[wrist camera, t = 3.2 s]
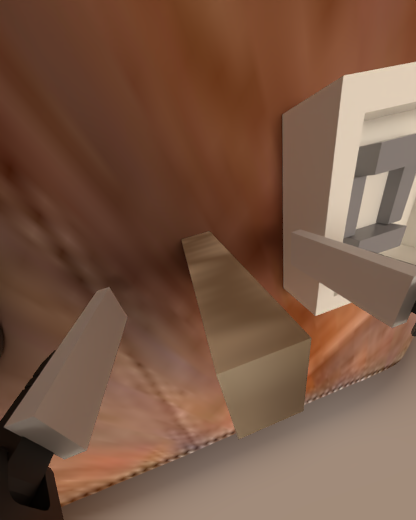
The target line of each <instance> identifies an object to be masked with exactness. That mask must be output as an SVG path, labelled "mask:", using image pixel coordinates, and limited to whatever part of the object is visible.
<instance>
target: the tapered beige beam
mask: <svg viewBox="0 0 416 520" xmlns="http://www.w3.org/2000/svg"><path fill="white" fill-rule="evenodd" d="M181 241H182V245H183V248H184V252H185V256H186V260H187V264H188V267H189V271H190V275H191V279H192V283H193V287H194V290H195V294H196V298H197V302H198V306H199V310H200V313H201V317H202V321H203V325H204V329H205V333H206V336H207V340H208V344H209V348H210V352H211V356H212V359H213V363H214V367H215V371H216V375H217V378H218V381H219V384H220V386H221V389H222V392H223V395H224V398H225V401H226V404H227V407H228V410H229V413H230V416H231V419H232V422H233V424H234V427H235V430H236V433H237V436H238V439H241V438H243V437H245V436H247V435H250V434H252V433H254V432H256V431H259V430H261V429H263V428H265V427H268V426H270V425H272V424H275V423H277V422H279V421H281V420H284V419H286V418H288V417H291V416H293V415H295V414H297V413H300V412H302V411H303V410H304V401H305V391H306V382H307V373H308V364H309V355H310V346H311V337H310V336H309V335H308V334H307V333H306V332H305V331H304V330H303V329H302V328H301V327H300V326H299V325H298V323H297V322H296V321H295V320H294V319H293V318H292V317H291V316H290V315H289V314H288V313H287V312H286V311H285V310H284V309H283V308H282V307H281V306H280V305H279V304H278V303H277V301H276V300H275V299H274V298H273V297H272V296H271V295H270V294H269V293H268V292H267V291H266V290H265V289H264V288H263V287H262V286H261V285H260V284H259V283H258V282H257V280H256V279H255V278H254V277H253V276H252V275H251V274H250V273H249V272H248V271H247V270H246V269H245V268H244V267H243V266H242V265H241V264H240V263H239V262H238V261H237V260H236V258H235V257H234V256H233V255H232V254H231V253H230V252H229V251H228V250H227V249H226V248H225V247H224V246H223V245H222V244H221V243H220V242H219V241H218V240H217V239H216V238H215V236H214V235H213V234H212V233H211V232H210V231H208V232H205V233H201V234H198V235H194V236H191V237H187V238H184V239H181Z"/></svg>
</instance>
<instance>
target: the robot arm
mask: <svg viewBox="0 0 416 520" xmlns="http://www.w3.org/2000/svg"><path fill="white" fill-rule="evenodd" d="M291 265H292V266H294V267H296V268H297V269H299V270H300V271H302V272H304V273H305V274H307V275H308V276H310V277H312V278H313V279H315V280H316V281H318V282H320V283H321V284H323V285H324V286H326V287H328V288H329V289H331V290H332V291H334V292H336V293H337V294H339V295H340V296H342V297H344V298H345V299H347V300H348V301H350V302H352V303H353V304H355V305H356V306H358V307H359V308H361V309H363V310H364V311H366V312H367V313H369V314H371V315H372V316H374V317H375V318H377V319H379V320H380V321H382V322H383V323H385V324H387V325H388V326H390V327H391V328H393V327H395V326H398V325H400V324H403V323H405V322H406V321H407V319H408V317H409V315H410V313H411V312H413V313H415V314H416V265H413V264H410V263H407V262H404V261H401V260H397V259H394V258H391V257H388V256H384V255H382V254H378V253H375V252H372V251H367V250H364V249H361V248H358V247H355V246H352V245H348V244H345V243H342V242H339V241H336V240H333V239H329V238H326V237H323V236H320V235H317V234H314V233H310V232H307V231H304V230H301V229H300V230H297V231H294V232H291ZM127 318H128V317H127V315H126V313H125V312H124V310H123V309H122V307H121V305H120V304H119V302H118V300H117V299H116V297H115V295H114V294H113V292H112V290H111V289H110V287H107V288H104V289H101V290H97V292H96V293H95V294H94V296H93V297H92V299H91V300H90V302H89V303H88V305H87V306H86V308H85V309H84V311H83V312H82V313H81V315H80V316H79V318H78V319H77V321H76V322H75V324H74V325H73V327H72V328H71V329H70V331H69V332H68V334H67V335H66V337H65V338H64V340H63V341H62V343H61V344H60V346H59V347H58V348H57V350H55V351H54V352H53V353H52V354H51V355H50V356H49V357H48V358H47V359H46V360H45V361H44V362H43V363H42V364H41V365H40V367H39V368H38V369H37V371H36V372H35V374H34V375H33V378H31V379H30V380H29V382H28V383H27V385H26V386H25V389H24V390H22V392H21V393H20V394H19V396H18V397H17V399H16V400H15V401H14V403H13V404H12V406H11V407H10V408H9V410H8V411H7V413H6V414H5V415H4V417H3V418H2V420H1V421H0V520H64V519H63V515H62V510H61V505H60V501H59V496H58V492H57V487H56V482H55V478H54V473H53V471H52V470H51V468H49V467H48V465H49V463H50V461H51V458H52V456H53V454H55V455H57V456H59V457H61V458H63V459H67V458H69V457H72V456H74V455H77V454H79V453H82V452H84V451H87V448H88V445H89V442H90V438H91V435H92V432H93V429H94V425H95V422H96V419H97V416H98V412H99V409H100V406H101V403H102V399H103V396H104V393H105V390H106V386H107V383H108V380H109V377H110V374H111V370H112V367H113V364H114V361H115V357H116V354H117V351H118V348H119V344H120V341H121V338H122V335H123V331H124V328H125V325H126V322H127ZM411 334H412V336H416V323H415V325H414V327H413V329H412V331H411ZM2 352H3V335H2V331H1V329H0V357H1V355H2Z"/></svg>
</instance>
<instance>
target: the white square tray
mask: <svg viewBox="0 0 416 520" xmlns="http://www.w3.org/2000/svg"><path fill="white" fill-rule="evenodd" d="M282 143H283V288H284V289H285V290H286V291H287V292H289V293H290V294H291V295H292V296H293V297H294V298H296V299H297V300H298V301H299V302H300V303H301V304H302V305H304V306H305V307H306V308H307V309H308V310H309V311H310V312H312V313H313V314H314V315H315V316H316V315H319V314H322V313H325V312H327V311H330V310H333V309H335V308H338V307H341V306H343V305H346V304H349V303H352V302H350V301H348V300H347V299H345V298H344V297H342V296H340V295H339V294H337V293H336V292H334V291H332V290H331V289H329V288H328V287H326V286H324V285H323V284H321V283H320V282H318V281H316V280H315V279H313V278H312V277H310V276H308V275H307V274H305V273H304V272H302V271H300V270H299V269H297V268H296V267H294V266H292V265H291V232H294V231H297V230H300V229H301V230H304V231H307V232H310V233H314V234H317V235H320V236H323V237H326V238H329V239H333V240H336V241H339V242H342V243H345V244H348V245H352V246H355V247H358V248H361V249H364V250H367V251H372V252H375V253H378V254H382V255H384V256H388V257H391V258H394V259H397V260H401V261H404V262H407V263H410V264H413V265H416V62H413V63H407V64H402V65H397V66H392V67H386V68H381V69H376V70H371V71H366V72H360V73H355V74H350V75H345V76H342V77H341V78H339V79H338V80H336V81H334V82H333V83H331V84H330V85H328V86H326V87H325V88H323V89H322V90H320V91H319V92H317V93H315V94H314V95H312V96H311V97H309V98H308V99H306V100H304V101H303V102H301V103H300V104H298V105H296V106H295V107H293V108H292V109H290V110H289V111H287V112H285V113H284V114H282Z"/></svg>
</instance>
